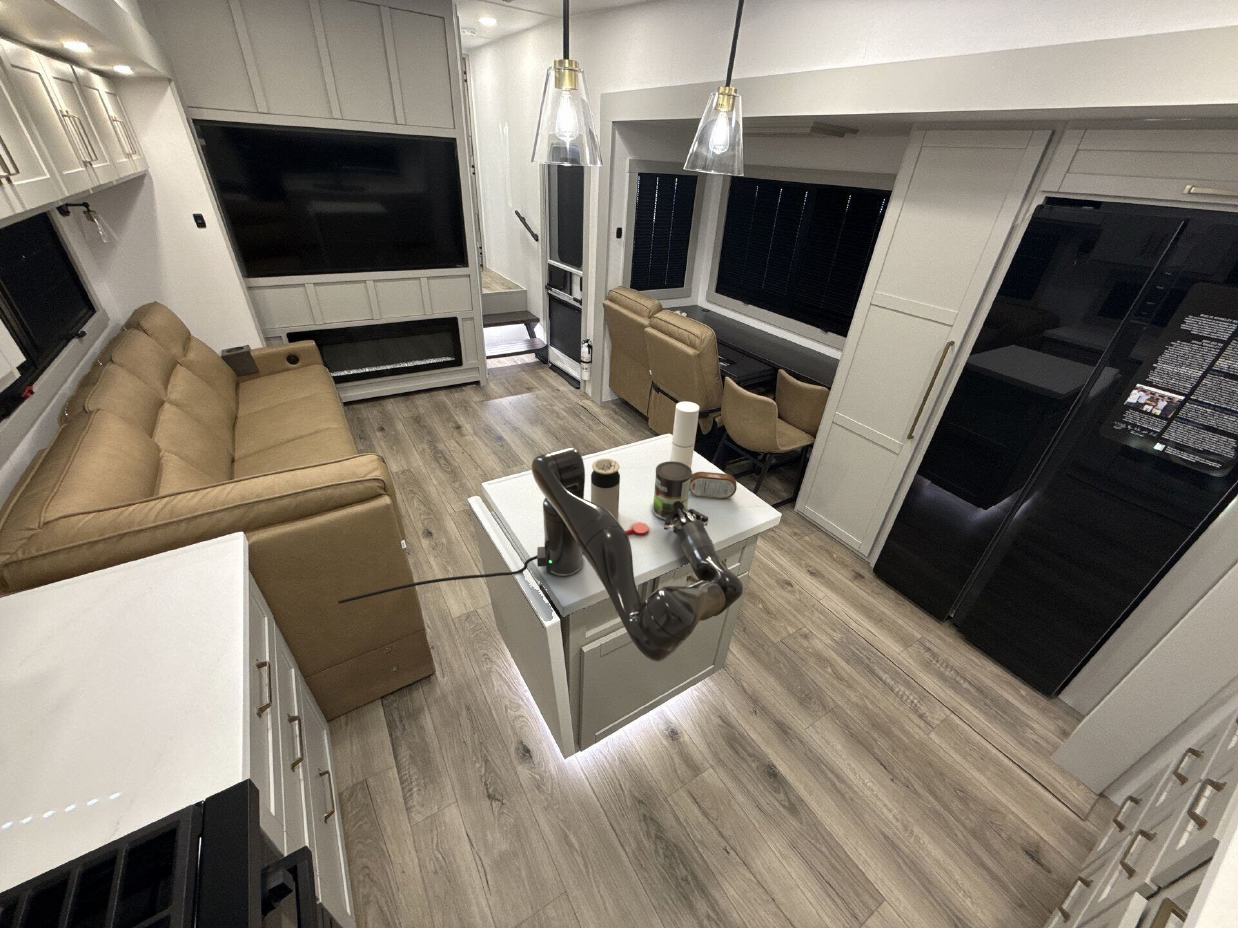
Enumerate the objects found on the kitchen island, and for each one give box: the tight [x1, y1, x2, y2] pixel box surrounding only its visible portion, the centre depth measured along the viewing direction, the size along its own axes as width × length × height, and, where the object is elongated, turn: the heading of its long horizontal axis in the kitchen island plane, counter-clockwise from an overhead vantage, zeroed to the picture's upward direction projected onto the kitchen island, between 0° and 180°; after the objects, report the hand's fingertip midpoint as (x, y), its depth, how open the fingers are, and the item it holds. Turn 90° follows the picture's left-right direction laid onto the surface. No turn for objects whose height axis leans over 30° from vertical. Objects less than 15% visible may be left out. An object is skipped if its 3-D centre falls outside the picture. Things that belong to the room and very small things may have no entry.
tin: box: [689, 471, 738, 500], centre depth 149 cm, size 15×3×8 cm, turn 84°
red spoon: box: [624, 522, 649, 536], centre depth 134 cm, size 16×5×1 cm, turn 117°
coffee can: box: [652, 460, 693, 521], centre depth 141 cm, size 10×10×14 cm
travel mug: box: [590, 458, 621, 521], centre depth 136 cm, size 8×8×18 cm
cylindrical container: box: [669, 401, 700, 470], centre depth 154 cm, size 7×7×25 cm
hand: (676, 503), depth 137 cm, fingers closed
